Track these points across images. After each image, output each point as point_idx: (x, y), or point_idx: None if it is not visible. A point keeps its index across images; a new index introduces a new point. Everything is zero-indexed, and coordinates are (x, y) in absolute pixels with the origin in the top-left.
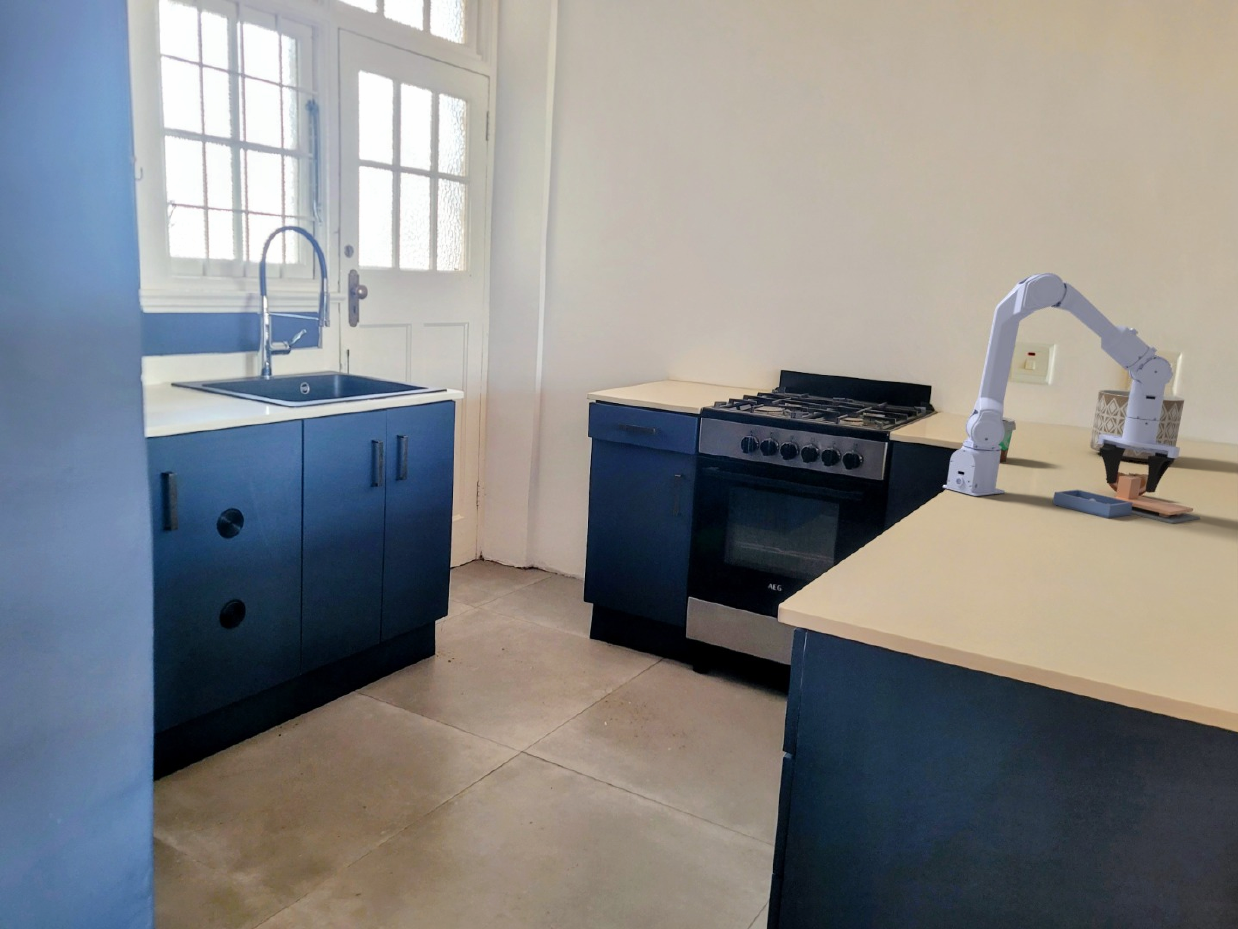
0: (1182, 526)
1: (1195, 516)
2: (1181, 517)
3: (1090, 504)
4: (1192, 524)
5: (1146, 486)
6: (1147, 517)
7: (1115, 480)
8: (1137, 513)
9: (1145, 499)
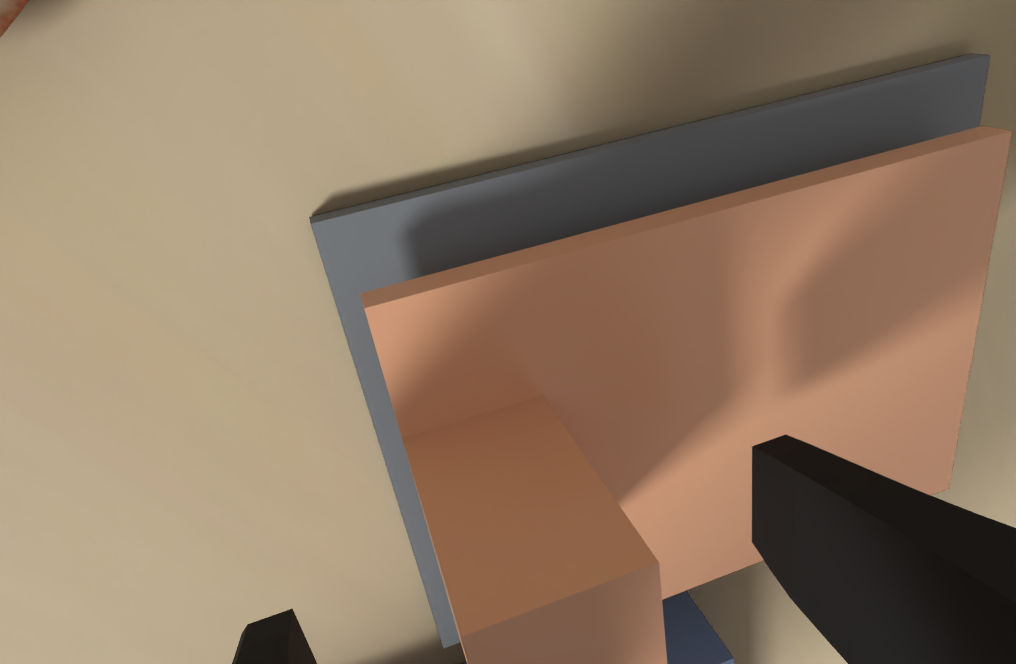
0: (969, 431)
1: (964, 94)
2: None
3: None
4: (989, 308)
5: (800, 601)
6: None
7: (301, 655)
8: None
9: (614, 358)
